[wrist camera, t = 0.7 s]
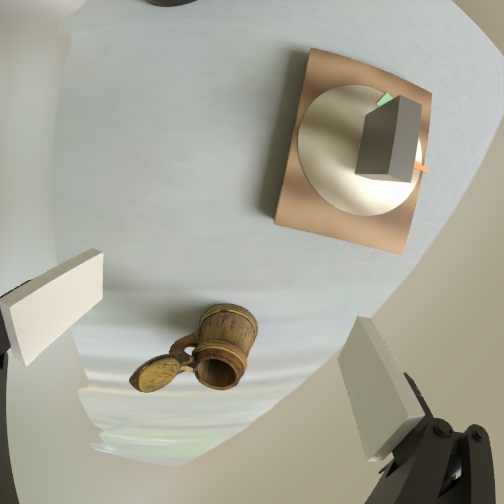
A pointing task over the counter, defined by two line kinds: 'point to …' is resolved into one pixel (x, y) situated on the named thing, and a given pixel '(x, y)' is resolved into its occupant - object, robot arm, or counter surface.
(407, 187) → the board
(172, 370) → the wooden mug
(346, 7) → the counter surface
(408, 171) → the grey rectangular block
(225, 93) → the counter surface
